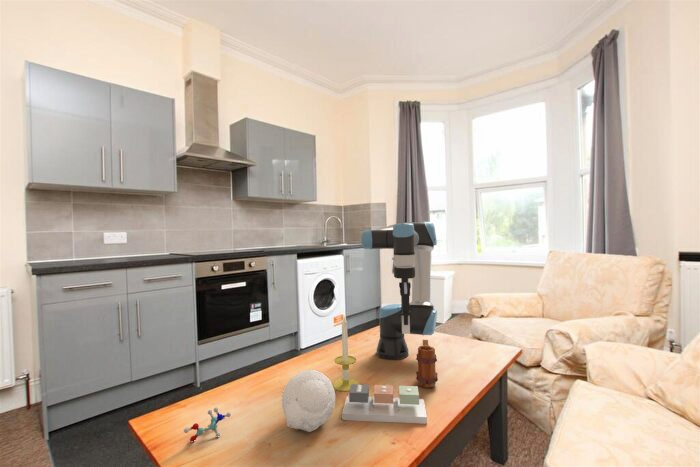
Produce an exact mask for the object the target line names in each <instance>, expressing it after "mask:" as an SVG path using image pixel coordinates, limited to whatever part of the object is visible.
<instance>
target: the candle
mask: <svg viewBox="0 0 700 467" xmlns="http://www.w3.org/2000/svg"><path fill="white" fill-rule="evenodd" d="M342 318H343V319H342V321H341V345H342V346H341V348H342V352H341V354H342V355H340V356H336V357H335V358H334V359H333V361H334V363H335V364H337V365H340V366H341V370H342V372H341V373H342V374H341V375H342V379H339V380H336V381H334V382H333V383H332V385H333V388H334V390H335V391H338V392H349V391H350V387H351V384H359V381H357V380H354V379H351V378H350V369H349V368H350V367H349V366H350V365H353V364H355V363H356V362H357V358H356V357H354V356H351V355H349V349H348V348H349V346H348V345H349V343H348V342H349V340H348V337H349V336H348V321H347V320H346V316H343V317H342Z"/></svg>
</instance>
